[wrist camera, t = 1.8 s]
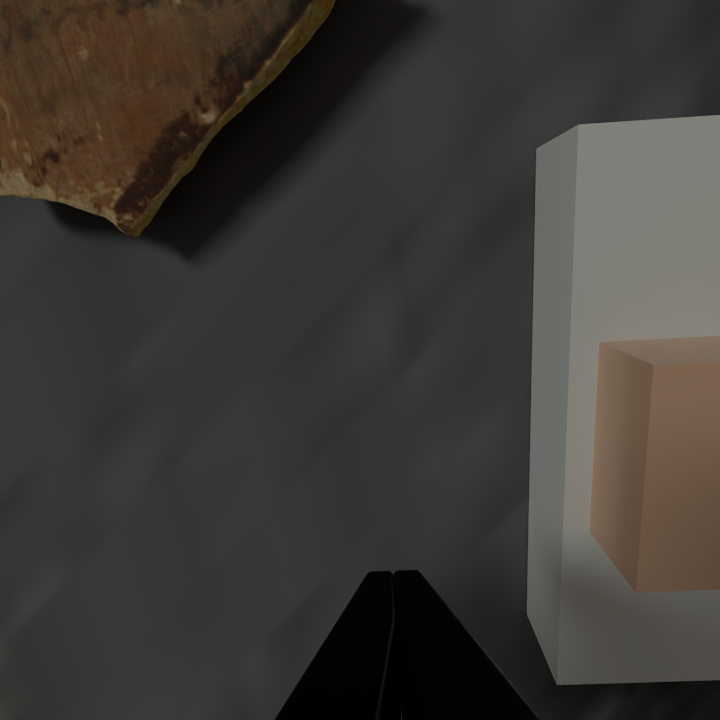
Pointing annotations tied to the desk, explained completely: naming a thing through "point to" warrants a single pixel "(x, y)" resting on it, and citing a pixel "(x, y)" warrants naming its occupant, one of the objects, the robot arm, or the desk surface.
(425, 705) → the robot arm
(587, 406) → the plate
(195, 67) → the shard
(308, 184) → the desk surface
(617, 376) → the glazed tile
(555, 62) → the desk surface
